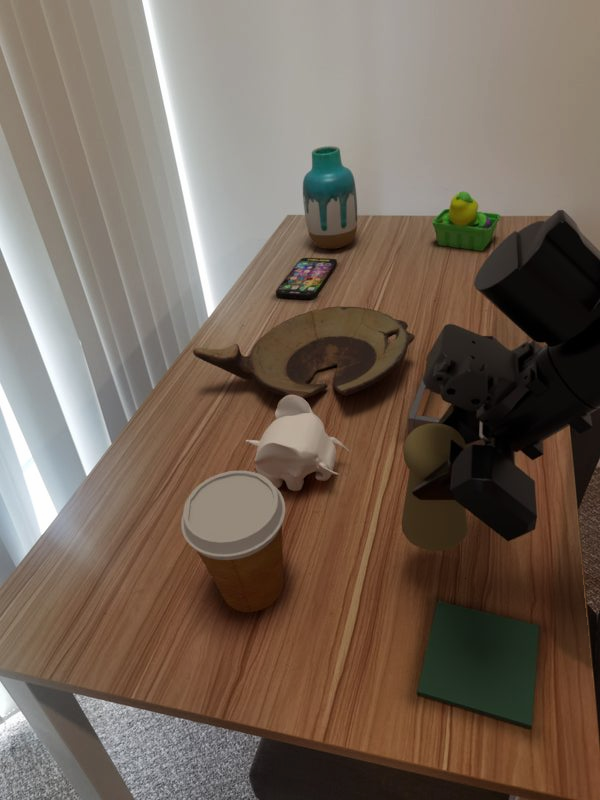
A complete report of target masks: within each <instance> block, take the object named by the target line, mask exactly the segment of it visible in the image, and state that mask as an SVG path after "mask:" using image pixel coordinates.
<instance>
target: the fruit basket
mask: <svg viewBox="0 0 600 800" xmlns="http://www.w3.org/2000/svg"><path fill="white" fill-rule="evenodd" d="M478 210H479V203H478V202H477V200H476V199H475V198H473V197H471V195H470V193H469V192H467V191H460V192H459V193H456V194H455V195H454V196H453V197H452V199H451V200H450V205H449V208H445V209H443V210H442V211H441V212H440V213H439V214H438V215H437V216H435V218H434V219H432V221H431V223H432V227H434V232H435V237H436V240H437V244H438V246H443V247H451V248H457V249H458V248H461V249H465V250H473V251H480V252H482V251H484V249H485V248H486V247H487V246H488V245H489V244H490V242H491V241H492V239H493V236H494V233H495V230H496V227H497V224H498V222H499V220H500V218H501V214H499V213H493V212H482V211H478Z"/></svg>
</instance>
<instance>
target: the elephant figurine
mask: <svg viewBox="0 0 600 800" xmlns="http://www.w3.org/2000/svg"><path fill="white" fill-rule="evenodd" d="M276 407H277V408H276V410H275V412H274V416H275V419H274V421H272V422H271V423H270V424H269V425H268V426H267V428H266V429H265V430H264V432H263V434H262V437H261V438H260V439H259V440H256V439H255V440H254V439H245V443H249V444H250V445H252V446H253V447H256V448H257V449H256V453H255V459H254V461H253V464H254V467H255V470H256V473H258V474H260V475H262V476H264V477H266V478H267V479H268V480H269V481H271V483H272V484H273V485H274V486H275V487H276V488H277V489H279V488H280V487H281V486H282V485H283V484H284V482H285V485H286V487H287V489H288V490H290V491H293V492H299V491H300V490H302V488H303V485H304V484H305V480H304V479H305V478H306V476H308V475H310V474H313V473H315V476H314V478H315V479H316V480H318V481H323V482H324V481H328V480H329V479H330V478H331V477H332V475H335V476H338V477H343V475H342V474H341V473H339V472H336V471H334V469H335V464H336V461H337V454H338V453H337V448H336V445H337V446H339V447H341V448H343V449H344V450H346V451H348V452H350V450H349V449H348V447H346V446H345V445H344V443H342V442H341V441H340V440H338V438H336V437H335V436H329V435H328V434H327V432H326V430H325V425H324V422H323V421H322V420H321V419H320V418H319V416H317V415H316V414H315V413H314V412H313V410H312V408H311V405H310V404H309V402H308V401H306V400H305V398H301V397H299V396H296V395H288V396H284V397H282V399H280V400H279V402H278V403H277V406H276Z"/></svg>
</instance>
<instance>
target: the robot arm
mask: <svg viewBox="0 0 600 800" xmlns="http://www.w3.org/2000/svg"><path fill="white" fill-rule="evenodd" d="M473 286H474V288H475V289H476V290H477V291H478V292H479V293H480V294H481V295H482V296H483V297H484V298H485V299H486V300H488V301H489V302H490V303H491V304H492V305H493V306H494V307H495V308H497V309H498V310H499V311H500V312H501V313H502V314H503V315H504V316H506V317H507V318H508V320H510V321H511V322H512V323H513V324H514V325H515V326H517V328H519V329H520V330H521V331H522V332H523V333H524V334H526V335H527V336H528V337H529V338H530V339H531V340H532V341H531V342H528V341H525V342H523V343H522V344H520V345H519V346H517V347H516V348H514V349H512V350H510V349H509V348H507V347H506V346H505V345H504V344H502V343H501V342H500V341H499V340H498V339H497V338H496V337H494V336H493V335H481V334H479V333H476V332H475V331H474V332H473V331H471V330H470V329H466V328H464V327H462V326H459V325H458V324H457V325H456V324H454V323H453V324H452V323H447V324H444V326H443V328H442V329H441V331H440V333H439V335H438V336H437V338H436V340H435V342H434V343H433V345H432V347H431V348H430V350H429V352H428V354H427V356H426V357H425V361H426V363H425V368H424V369H425V370H424V372H425V374H424V373H423V375H424V376H423V375H422V378H423V382H424V384H425V386H426V387H427V388H428V389H429V390H431V391H430V392H433V393H436V394H438V395H440V397H441V399H442V400H443V402H445V403H448V404H450V405H449V407H448V408H447V410H446V411H445V412H444V413H443V415H442V416H441V417H440V418H441V419H440V420H439V422H438V423H437V424H444V425H447V426H450V427H452V428H453V429H455V430H456V431H458V433H459V434H460V435H461V436H462V438H463V439H464V441H465V444H466V445H467V444H470V443H472V442H475V441H478V440H481V439H482V440H483V441H484V445H474V444H472V445H471V446H469V447H467V448H466V449H463V448H462V447H461V446H459V445H458V444H457V443H456V442H454V441H453V440H452V439H451V440H450V446H449V458H448V460H447V461H446V462H445V463H444V464H442V465H441V466H440V467H439V468H437V469H436V470H435V471H434V472H432V473H431V474H430V475H428V476H427V477H426V478H425V479H423V480H422V481H421V482H420V483H419V484H418V485H417V486H416V487H415V488H414V489H413V490H412V494H413V495H414V496H415V497H417V498H418V499H420V500H456V502H458V503H459V504H460V505H462V506H463V507H464V508H465V510H467V511H468V512H469V513H470V514H471V515H473V517H476V518H477V519H478V520H479V521H481V523H484V524H485V525H486V526H487V527H488V528H490V529H491V530H492V531H493V532H495V533H496V534H497V535H499V536H500V537H501V538H503V539H504V540H505V541H507V542H511V541H514V540H516V539H518V538H520V537H522V536H524V535H526V534H528V533H531V532H532V531H534V530H536V526H537V520H538V511H537V496H536V495H537V493H536V481H535V480H534V479H533V478H532V477H531V476H530V475H528V474H527V473H526V472H524V471H523V470H522V469H521V468H519V467H518V466H517V464H516V453H519V452H522V454H524V455H525V456H526V457H528V458H529V459H530V460H531V461H534V460H536V459H538V458H540V457H542V456H543V455H544V454H545V453H544V443H543V441H545V440H547V439H549V438H550V437H552V436H554V435H555V434H557V433H559V432H561V431H563V430H565V429H566V428H568V427H571V428H572V429H573V430H575V431H576V432H577V433H578V434H583V433H584V432H586V431H588V430H590V429H592V428H593V423H592V416H591V414H592V413H594V412H596V411H597V410H599V409H600V250H599V249H598V247H597V246H595V244H593V243H592V242H591V241H590V240H589V239H588V238H587V237H586V236H585V235H584V234H583V233H582V231H581V230H580V228H579V226H578V225H577V222H576V221H575V219H573V218H572V217H571V216H570V215H569V213H567V211H565V210H564V209H557V210H556V211H555V212H554V213H553V214H552V215H551V216H549V217H548V218H547V219H546V220H538V221H535V222H533V223H530V224H527V226H525V227H523V228H521V229H520V230H519V231H517V230H514V231H513V232H511V233H510V234H509V235H507V236H506V238H504V239H503V240H502V241H501V242H500V243H498V245H497V246H496V247H495V248H494V249H493V251H492V252H491V253H490V254H489V255H488V256H487V258H486V259H485V260H484V262H483V263H482V265H481V266H480V268H479V269H478V272H477V273H476V276H475V279H474V281H473ZM540 343H541V344H542V343H545V345H544V346H541V345H540Z"/></svg>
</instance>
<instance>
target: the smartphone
mask: <svg viewBox="0 0 600 800" xmlns="http://www.w3.org/2000/svg"><path fill="white" fill-rule="evenodd" d="M337 264H338V261H337V259H336V258H323V257H302V258H301V259H299V260H298V262H297V263H296V264H295V265H294V266H293V268H292V269H291V271H290V272H289V273H288V274H287V276H286V277H285V278H284V280H283V281H282V282H281V283H280V284H279V286H278V287H277V289H276V290H275V295H276V297H277V298H281V299H297V300H312V299H314V298H315V297H316V296H317V294H318V293H319V292H320V290H321V289H322V288H323V286H324V284H325V283H326V281H327V280H328V279H329V277H330V275H331V274H332V273H333V272H334V269H335V268H336V266H337Z"/></svg>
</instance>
